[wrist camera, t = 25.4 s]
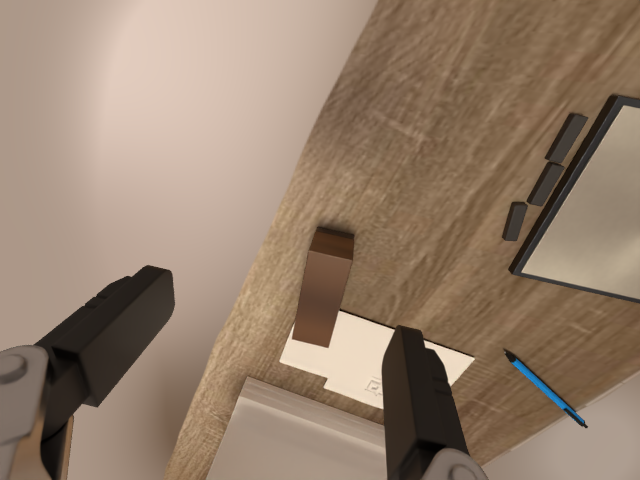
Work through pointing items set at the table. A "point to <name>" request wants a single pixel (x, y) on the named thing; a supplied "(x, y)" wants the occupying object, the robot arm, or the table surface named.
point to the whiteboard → (593, 213)
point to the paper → (359, 358)
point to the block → (296, 440)
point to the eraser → (323, 286)
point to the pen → (545, 389)
